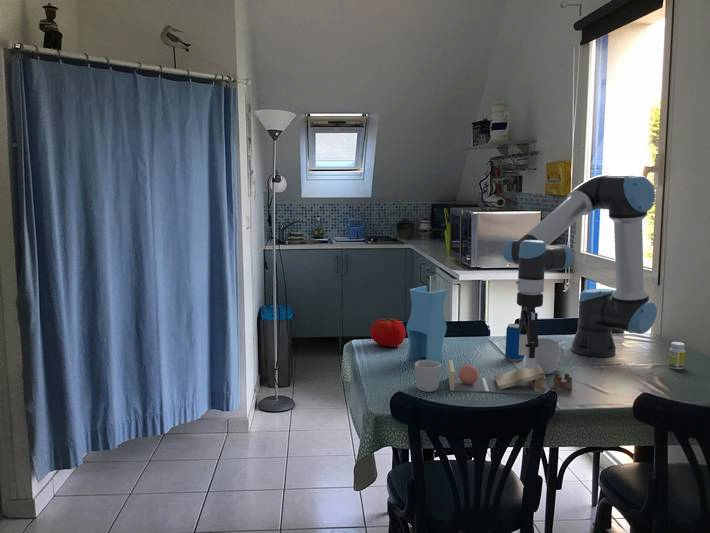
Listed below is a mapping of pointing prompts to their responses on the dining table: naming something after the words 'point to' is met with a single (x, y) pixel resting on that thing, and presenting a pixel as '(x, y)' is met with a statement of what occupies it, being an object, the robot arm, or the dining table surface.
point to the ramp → (523, 378)
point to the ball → (468, 374)
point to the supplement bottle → (676, 355)
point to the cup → (427, 375)
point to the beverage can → (513, 343)
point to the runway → (488, 385)
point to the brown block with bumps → (562, 382)
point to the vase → (426, 324)
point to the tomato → (388, 332)
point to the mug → (548, 354)
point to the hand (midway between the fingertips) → (526, 361)
